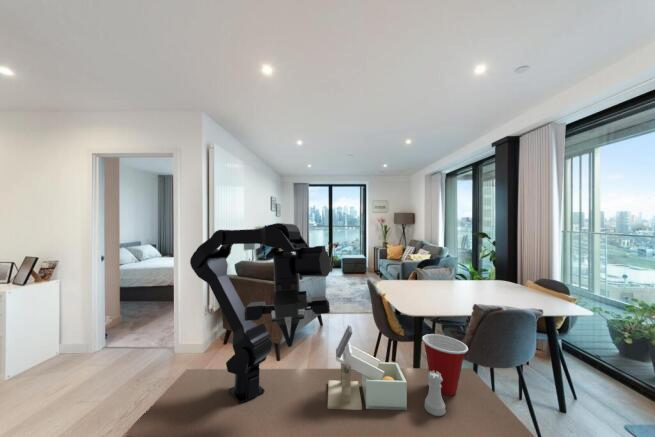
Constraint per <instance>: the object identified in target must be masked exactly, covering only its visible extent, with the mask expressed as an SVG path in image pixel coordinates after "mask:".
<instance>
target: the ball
mask: <svg viewBox="0 0 655 437" xmlns="http://www.w3.org/2000/svg"><path fill="white" fill-rule="evenodd" d="M382 380H394V379H393V378H392V377H389V376H386V377H384V378H382Z"/></svg>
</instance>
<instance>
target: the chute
mask: <svg viewBox="0 0 655 437" xmlns="http://www.w3.org/2000/svg"><path fill="white" fill-rule="evenodd" d="M352 329H353V328H352V326H351V325H349V324H347V327H346V329H345V330H344V333H343V336H342V337H341V340H340V342H339V343H338V346H337V347H336V348H335V361H336V362H338V363H340V364H341V363H342V364H344V365H350V366H351V370H354V371H356V372H358V373H360V374H361V375H362V374H363V375H365V376H367V377H369V378H371V379H373V380H381V379H382V377H383V374H384V371H382V370H381V369H379V368H377V367H378V365H379V363H380V362H381V360H380V359H378V358H376V357H374V356H372V355H371V354H368V353H367V352H365V351H363V350H361V349H359V348H357V347H356V346H354V345H351V344H352V343H351V342H349V341H350V339H351V337H352V335H353V330H352ZM344 349H345V350H344Z"/></svg>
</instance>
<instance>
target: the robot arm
mask: <svg viewBox="0 0 655 437" xmlns="http://www.w3.org/2000/svg"><path fill="white" fill-rule="evenodd" d="M248 244H249V245H251V244H253V245H254V244H256V245H257V244H258V245H261V246H264V247H268V248H271V249H270V250H269V251H268V253H266V254H265V256H264V257H265V259H272V260H273V261H272V262H273V281H274V283H273V284H274V295H273V304H266V301H253V302H250V303H249V304H248V305H247V306H246V307H245V305H244V304H243V302H242V300H241V298H240V296H239V295H238V293H237V291H236V289H235V287H234V285H233V283H232V282H231V280H230V278H229V275H228V266H229V265H228V262H227V259H228V258H229V256H230V255H231V254H232V247H233V245H248ZM293 253H294V254H293ZM189 260H190V261H189V264H190V266H191V269H192V271H193V272H194V273H195V275H196V276H197V278H199V279H201V280H202V281H203V282H205V283H206V284H208V286H209V287H210V290H211V291H212V293H213V295H214V297H215V299H216V301H217V303H218V305H219V307H220V309H221V311H222V313H223V315H224V317H225V319H226V321H227V323H228V325H229V327H230V329H231V332H232V333H233V334H232V335H233V336H232V349H233V352H234V354H233V355H232V356H231V357H230V358H229V359H228V360H227V361H226V362H225V365H226V370H227V373H229V374H230V373H231V374H234V385H233V387H230V388H228V393H229V394H230V395H231V396H232V397H233V398H234V399H235V400H236V401H237V402H238V403H239V404H242V403H244V402H246V401H249V400H251V399H253V398H256V397H259V396H260V395H262V394H265V389H264V388H263V387H262V386H261V385H260V380H261V379H260V364H262V363H263V362H265V361H266V360H267V357H268V356H269V354H270V353H271V352H272V346H273V343H272V339H271V338H272V335H271V334H270V333H269V331H268V330H267V328H266V325H265V324H264V323H262V322H261V323H259V324H257V323H255V322H254V321H258V320H260V319H261V318H262V317H263V315H268V314H271V322H272V323H276V324H277V325H278V327H279V328H280V330H281V332H282V334H283V337H284V340H285V343H286V345H287V347H288V348H292V347H293V343H294V339H295V334H296V330H297V328H298V325H299V323H300V321H301V320H304V319H305V318H306V317H305V311H311V310H312V312H313V313H314V314H315V315H321V314H322V315H323V314H324V315H325V314H329V313H331V311H330V301H329V299H328V298H327V297H326V296H325V295H322V296H311V297H310V301H308V298H307V297H308V296H307V290H300V289H301V288H300V276H301V277H303V278H317V277H318V278H321V277H322V278H324V277H325V278H326V277H328V276H329V274H330V273H331V267H332V266H331V264H332V263H331V262H332V261H331V259H330V256H329V252H327V250H326V245H315V246H309V244H308V243H307V241H306V240H305V239H304V237H303V236H302V234H301V231H300V229H299V227H298V226H297V224H293V223H284V222H283V223H282V222H281V223H280V222H277V223H272V224H268V225H265V226H263V227H261V228H256V229H255V228H250V229H249V228H248V229H218V230H216V231H214V232H213V234H212V235H211V237H210V238H208V239H207V240H205V241H204V242H203V243H201V244H200V245H199V246H198V247H197V249H195V251H194V252H193V254H192V256H191V257H190V259H189ZM288 318H291V320H290V329H289V326H288V325H289V324H288Z"/></svg>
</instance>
